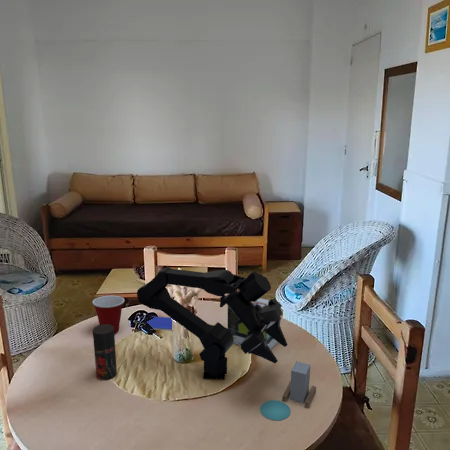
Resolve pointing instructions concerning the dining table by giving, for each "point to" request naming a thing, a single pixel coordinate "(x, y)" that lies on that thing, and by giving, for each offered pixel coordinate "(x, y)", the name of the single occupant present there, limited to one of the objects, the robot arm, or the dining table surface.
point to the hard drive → (161, 323)
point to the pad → (275, 410)
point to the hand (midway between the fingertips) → (281, 353)
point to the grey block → (300, 382)
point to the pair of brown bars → (308, 399)
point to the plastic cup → (109, 310)
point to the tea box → (241, 331)
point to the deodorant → (104, 352)
